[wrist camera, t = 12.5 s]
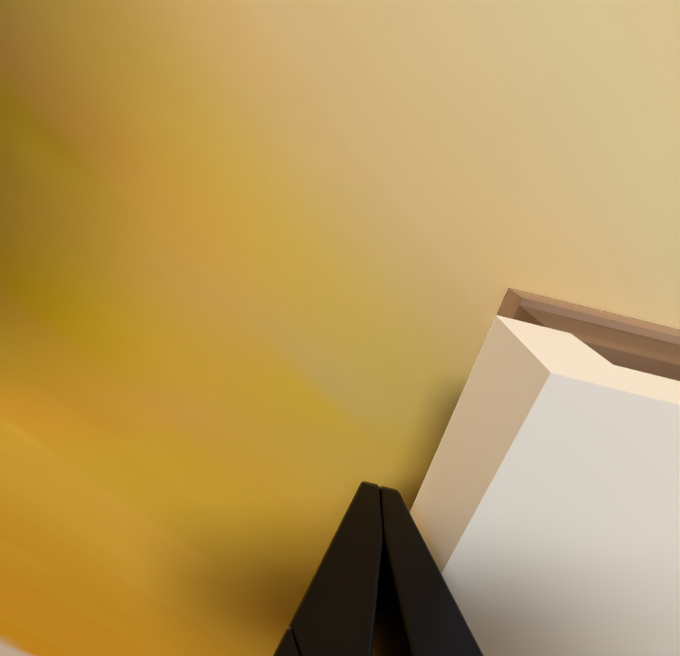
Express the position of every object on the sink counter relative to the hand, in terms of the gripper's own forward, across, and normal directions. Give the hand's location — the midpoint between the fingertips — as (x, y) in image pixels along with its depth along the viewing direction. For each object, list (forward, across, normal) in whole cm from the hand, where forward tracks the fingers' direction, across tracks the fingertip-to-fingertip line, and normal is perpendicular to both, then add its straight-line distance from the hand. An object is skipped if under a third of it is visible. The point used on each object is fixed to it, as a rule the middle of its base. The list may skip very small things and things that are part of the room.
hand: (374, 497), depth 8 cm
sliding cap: (+3, -4, 0) cm, 5 cm away
